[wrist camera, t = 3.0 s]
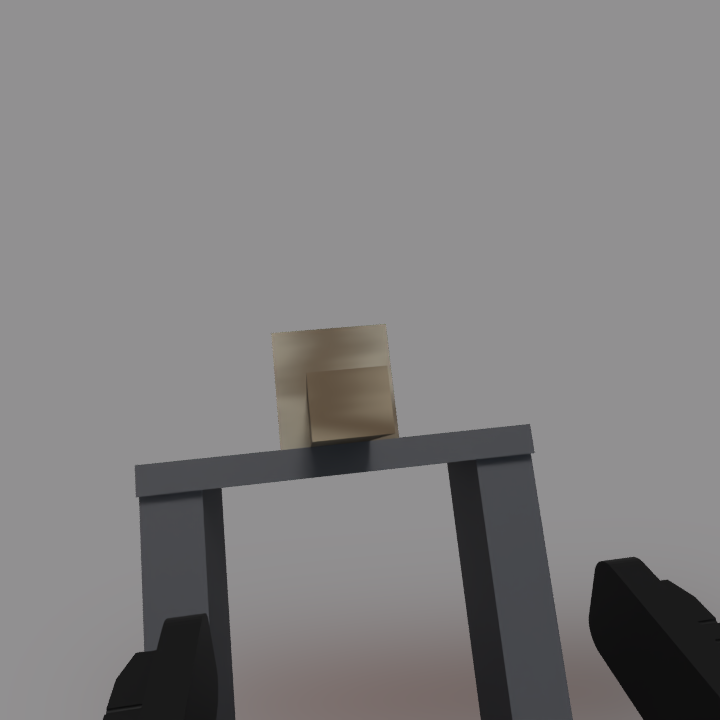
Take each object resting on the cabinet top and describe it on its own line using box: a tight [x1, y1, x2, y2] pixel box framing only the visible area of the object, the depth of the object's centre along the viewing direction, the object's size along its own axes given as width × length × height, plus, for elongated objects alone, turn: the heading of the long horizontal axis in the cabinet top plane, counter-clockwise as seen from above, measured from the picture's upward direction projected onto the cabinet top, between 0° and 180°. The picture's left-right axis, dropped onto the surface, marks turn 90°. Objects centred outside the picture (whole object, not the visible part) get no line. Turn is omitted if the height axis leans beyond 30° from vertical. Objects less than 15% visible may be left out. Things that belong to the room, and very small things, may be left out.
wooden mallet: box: [272, 324, 399, 450], centre depth 27 cm, size 6×14×6 cm, turn 6°
